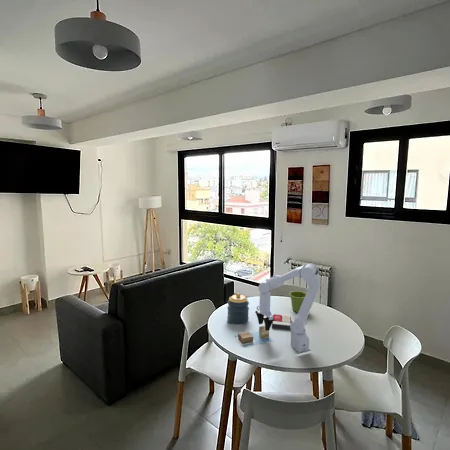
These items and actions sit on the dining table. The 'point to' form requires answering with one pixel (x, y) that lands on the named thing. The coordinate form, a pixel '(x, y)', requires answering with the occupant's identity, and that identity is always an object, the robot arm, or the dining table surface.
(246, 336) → the walnut base
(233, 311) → the canister
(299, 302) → the plant pot
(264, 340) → the board
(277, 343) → the dining table surface
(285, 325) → the multicoloured piece
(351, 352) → the dining table surface
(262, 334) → the maple block
